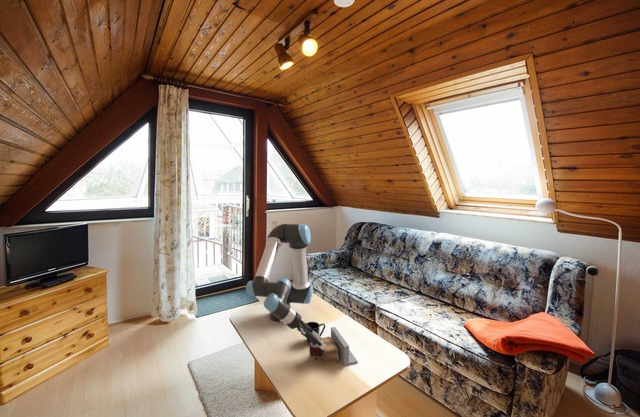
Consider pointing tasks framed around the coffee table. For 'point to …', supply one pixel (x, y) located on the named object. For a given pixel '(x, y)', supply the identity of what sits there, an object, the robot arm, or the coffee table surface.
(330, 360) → the tan block with ledge
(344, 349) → the backstop board
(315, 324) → the mug
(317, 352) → the mate gourd
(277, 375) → the coffee table surface
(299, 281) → the robot arm
